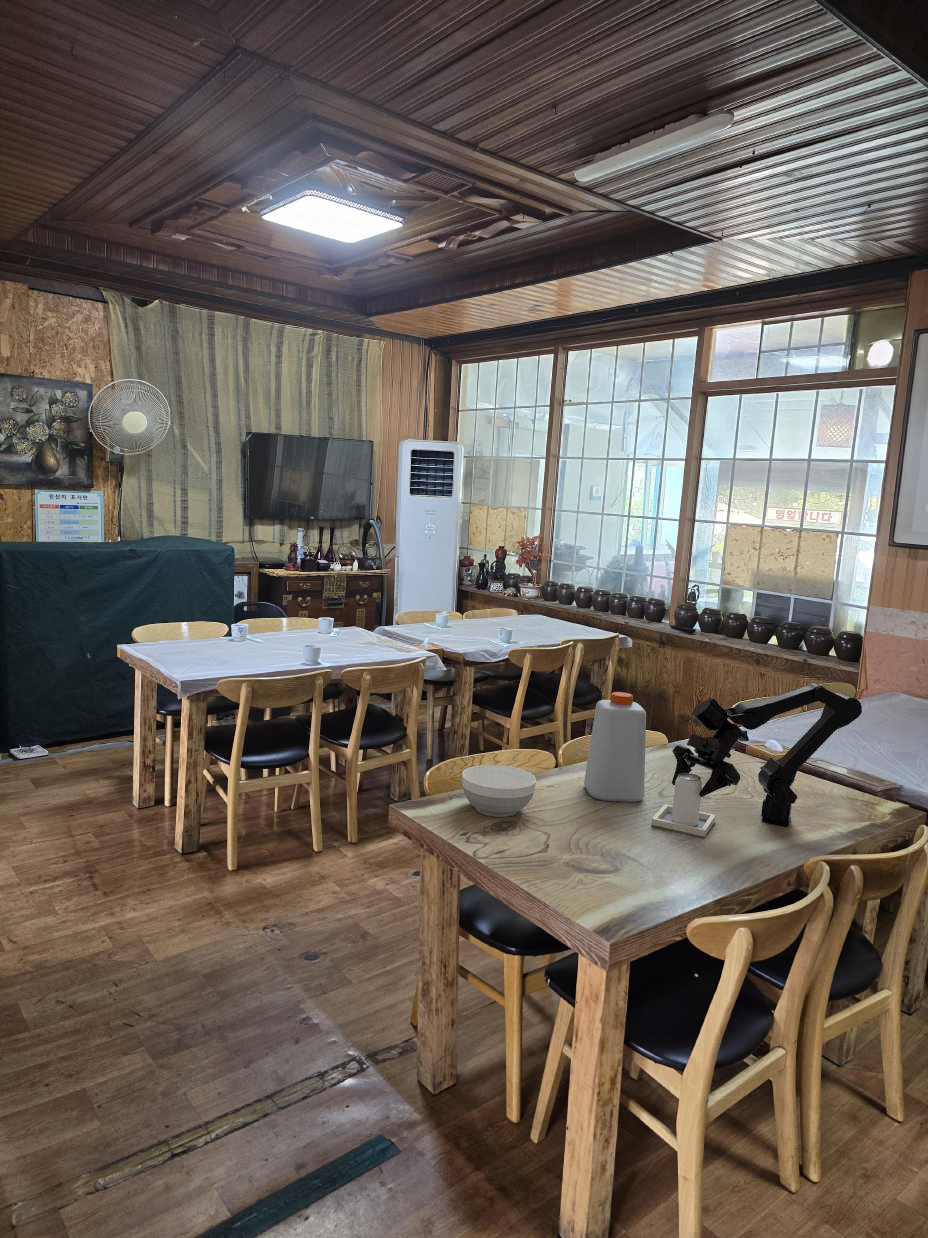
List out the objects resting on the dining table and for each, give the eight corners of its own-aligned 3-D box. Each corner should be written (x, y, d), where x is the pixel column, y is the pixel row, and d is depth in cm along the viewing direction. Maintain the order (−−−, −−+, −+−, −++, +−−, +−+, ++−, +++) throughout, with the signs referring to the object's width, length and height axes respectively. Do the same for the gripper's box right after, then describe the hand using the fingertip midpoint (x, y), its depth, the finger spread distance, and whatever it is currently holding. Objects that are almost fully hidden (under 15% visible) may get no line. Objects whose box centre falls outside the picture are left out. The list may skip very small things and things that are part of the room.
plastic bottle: (633, 785, 240) (642, 689, 236) (647, 804, 225) (656, 702, 221) (581, 783, 239) (589, 686, 235) (591, 801, 224) (599, 699, 220)
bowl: (529, 827, 203) (531, 792, 202) (452, 817, 206) (454, 782, 205) (537, 802, 221) (540, 769, 220) (467, 792, 225) (469, 761, 224)
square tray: (714, 822, 214) (715, 815, 214) (704, 838, 203) (705, 830, 203) (664, 811, 220) (664, 804, 220) (651, 826, 209) (651, 818, 208)
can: (668, 823, 210) (673, 777, 209) (675, 816, 216) (679, 770, 214) (694, 829, 207) (699, 782, 205) (700, 821, 213) (705, 776, 211)
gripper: (680, 714, 219) (645, 759, 214) (737, 732, 203) (700, 782, 198) (699, 741, 224) (665, 785, 219) (756, 761, 208) (720, 809, 204)
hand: (686, 790), depth 210 cm, fingers open, 9 cm apart
